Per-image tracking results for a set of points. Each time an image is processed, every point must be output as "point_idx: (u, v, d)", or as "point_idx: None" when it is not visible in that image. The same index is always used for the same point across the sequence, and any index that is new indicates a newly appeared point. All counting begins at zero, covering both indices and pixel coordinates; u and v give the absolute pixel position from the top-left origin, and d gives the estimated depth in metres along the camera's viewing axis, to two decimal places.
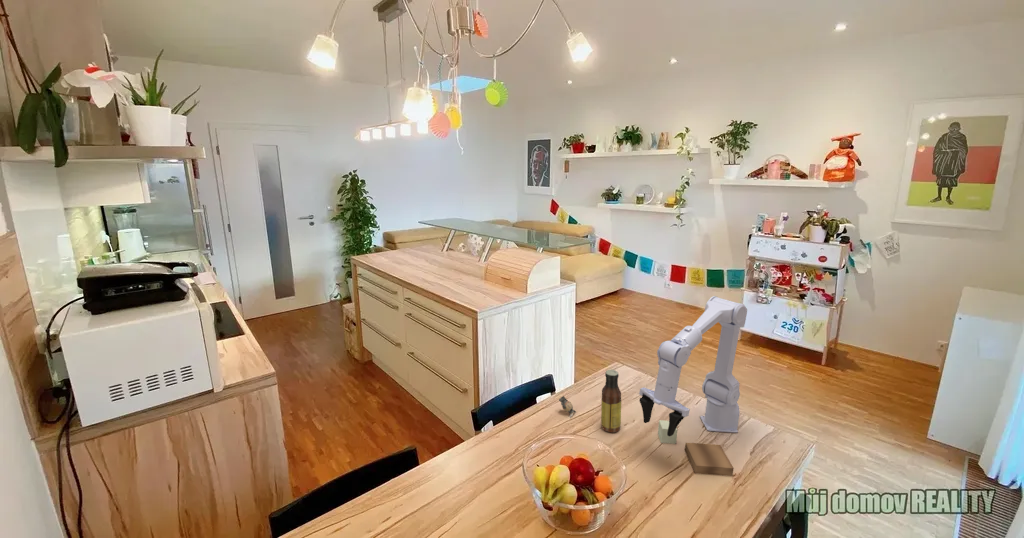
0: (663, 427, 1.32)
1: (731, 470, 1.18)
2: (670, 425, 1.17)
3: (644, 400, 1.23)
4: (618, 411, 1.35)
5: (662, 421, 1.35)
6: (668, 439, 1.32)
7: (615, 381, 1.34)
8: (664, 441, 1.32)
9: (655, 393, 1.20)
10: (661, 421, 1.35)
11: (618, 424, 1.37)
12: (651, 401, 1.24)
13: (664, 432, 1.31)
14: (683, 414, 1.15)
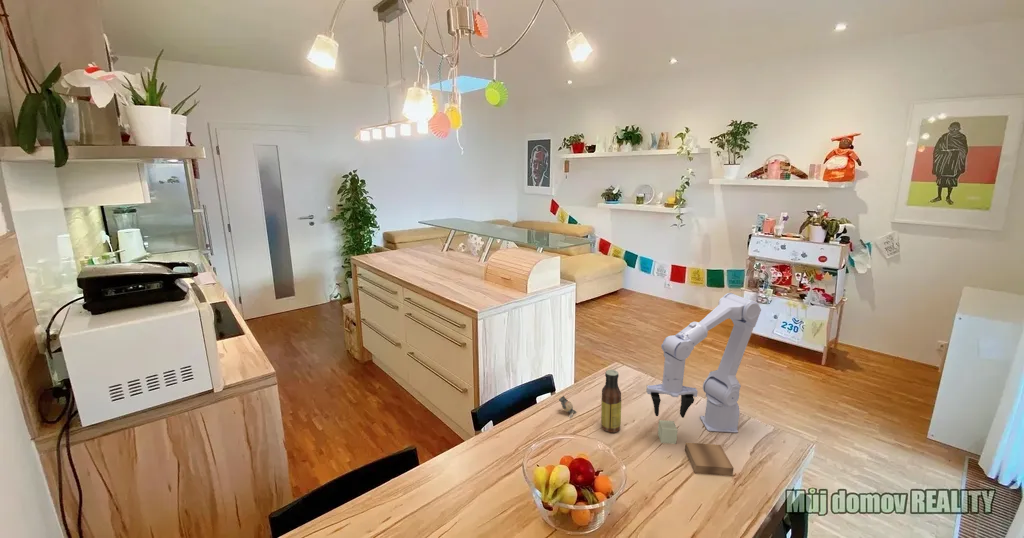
0: (663, 427, 1.32)
1: (731, 470, 1.18)
2: (685, 408, 1.29)
3: (657, 397, 1.29)
4: (618, 411, 1.35)
5: (662, 421, 1.35)
6: (668, 439, 1.32)
7: (615, 381, 1.34)
8: (664, 441, 1.32)
9: (669, 388, 1.27)
10: (661, 421, 1.35)
11: (618, 424, 1.37)
12: None
13: (664, 432, 1.31)
14: (695, 395, 1.29)
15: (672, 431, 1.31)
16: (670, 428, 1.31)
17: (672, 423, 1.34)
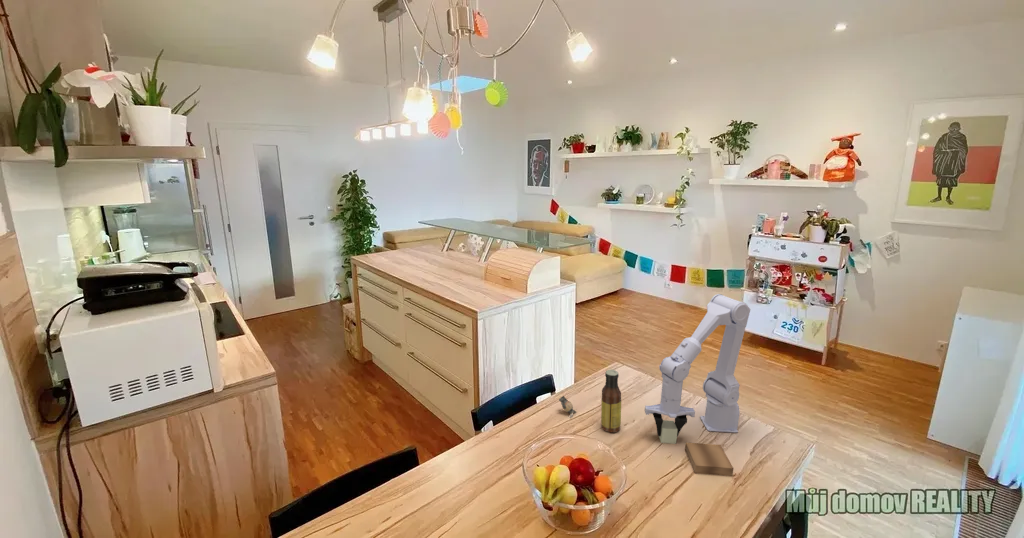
0: (663, 427, 1.32)
1: (731, 470, 1.18)
2: (679, 428, 1.31)
3: (659, 418, 1.31)
4: (618, 411, 1.35)
5: None
6: (668, 438, 1.32)
7: (615, 381, 1.34)
8: (664, 441, 1.32)
9: (667, 408, 1.29)
10: None
11: (618, 424, 1.37)
12: None
13: (664, 432, 1.31)
14: (693, 415, 1.30)
15: (672, 431, 1.31)
16: (671, 428, 1.31)
17: (672, 423, 1.34)
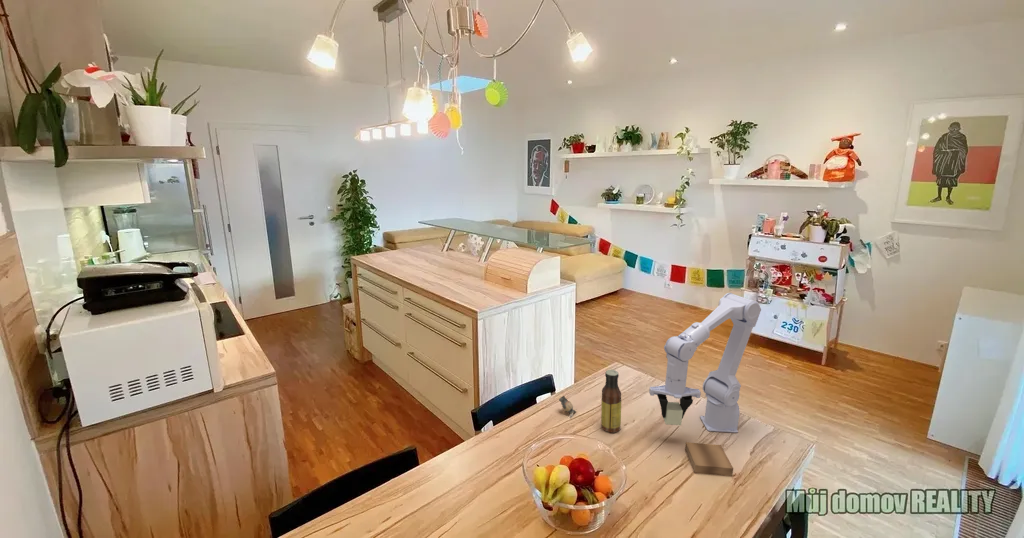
0: (668, 408, 1.29)
1: (731, 470, 1.18)
2: (684, 409, 1.29)
3: (664, 399, 1.28)
4: (618, 411, 1.35)
5: None
6: (673, 420, 1.29)
7: (615, 381, 1.34)
8: (669, 422, 1.30)
9: (672, 389, 1.27)
10: None
11: (618, 424, 1.37)
12: None
13: (669, 413, 1.29)
14: (698, 396, 1.28)
15: (677, 412, 1.28)
16: (676, 409, 1.29)
17: (677, 404, 1.31)
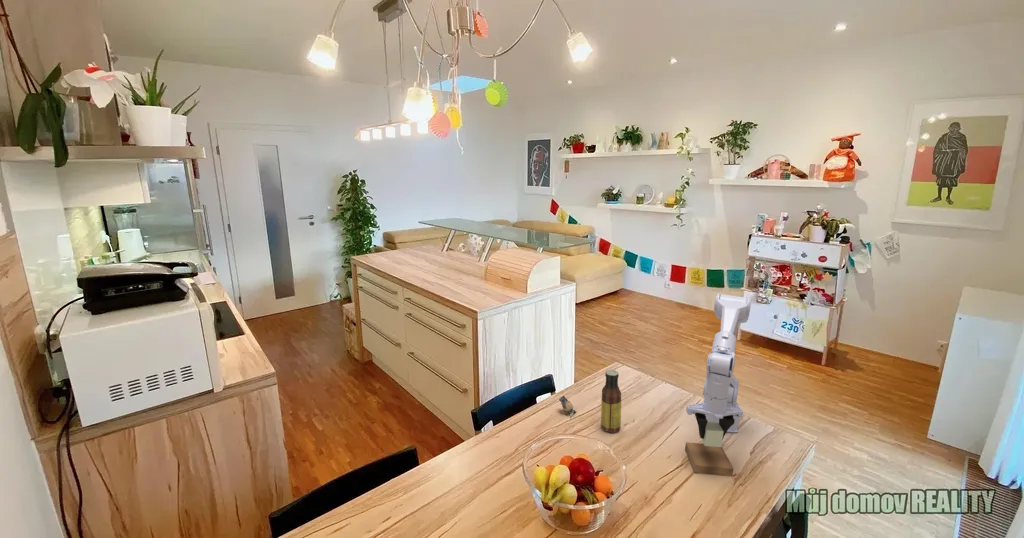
0: (707, 428, 1.20)
1: (731, 470, 1.18)
2: (725, 430, 1.19)
3: (703, 419, 1.18)
4: (618, 411, 1.35)
5: None
6: (713, 441, 1.20)
7: (615, 381, 1.34)
8: (708, 444, 1.20)
9: (712, 408, 1.17)
10: None
11: (618, 424, 1.37)
12: None
13: (708, 434, 1.19)
14: (740, 415, 1.18)
15: (717, 433, 1.19)
16: (716, 429, 1.19)
17: (716, 424, 1.22)
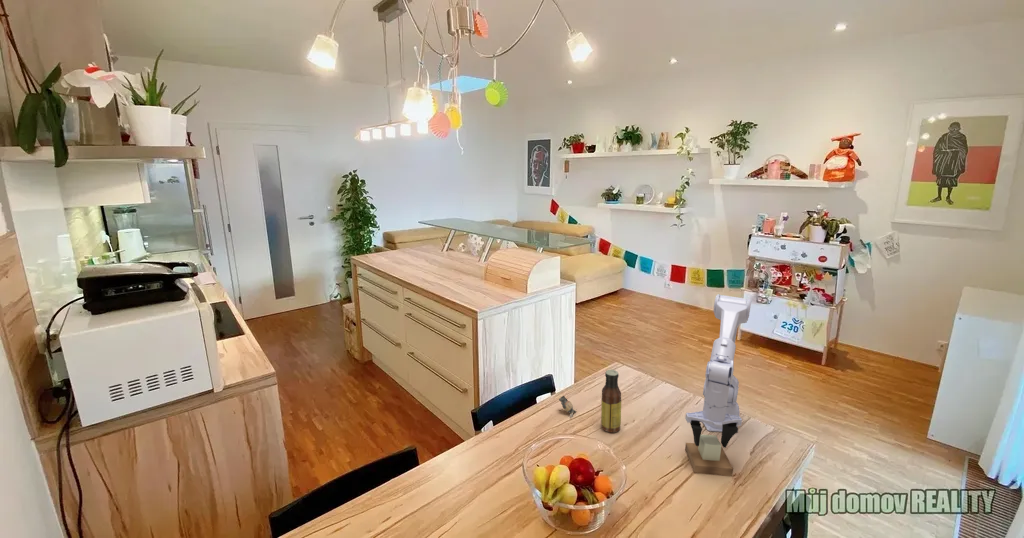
0: (705, 442, 1.21)
1: (730, 471, 1.18)
2: (728, 438, 1.19)
3: (698, 426, 1.19)
4: (618, 411, 1.35)
5: (703, 435, 1.24)
6: (711, 455, 1.21)
7: (615, 381, 1.34)
8: (706, 458, 1.21)
9: (711, 416, 1.18)
10: (702, 435, 1.24)
11: (618, 424, 1.37)
12: None
13: (706, 448, 1.20)
14: (739, 423, 1.19)
15: (715, 447, 1.20)
16: (714, 443, 1.20)
17: (715, 438, 1.23)
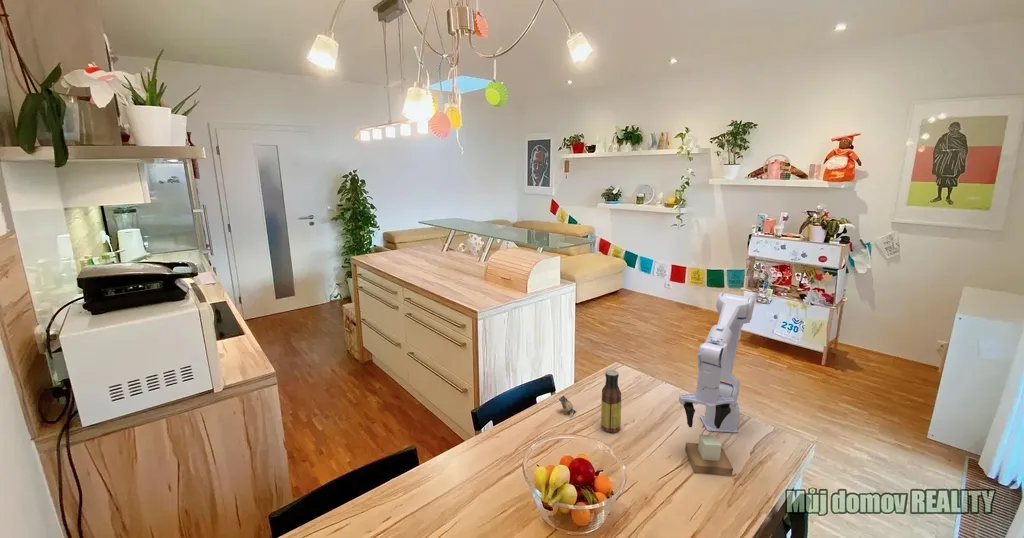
0: (705, 442, 1.21)
1: (730, 470, 1.18)
2: (721, 419, 1.22)
3: (691, 408, 1.21)
4: (618, 411, 1.35)
5: (703, 436, 1.24)
6: (711, 455, 1.21)
7: (615, 381, 1.34)
8: (706, 458, 1.21)
9: (704, 397, 1.20)
10: (702, 435, 1.24)
11: (618, 424, 1.37)
12: None
13: (706, 448, 1.20)
14: (731, 404, 1.21)
15: (715, 447, 1.20)
16: (714, 443, 1.20)
17: (714, 438, 1.23)
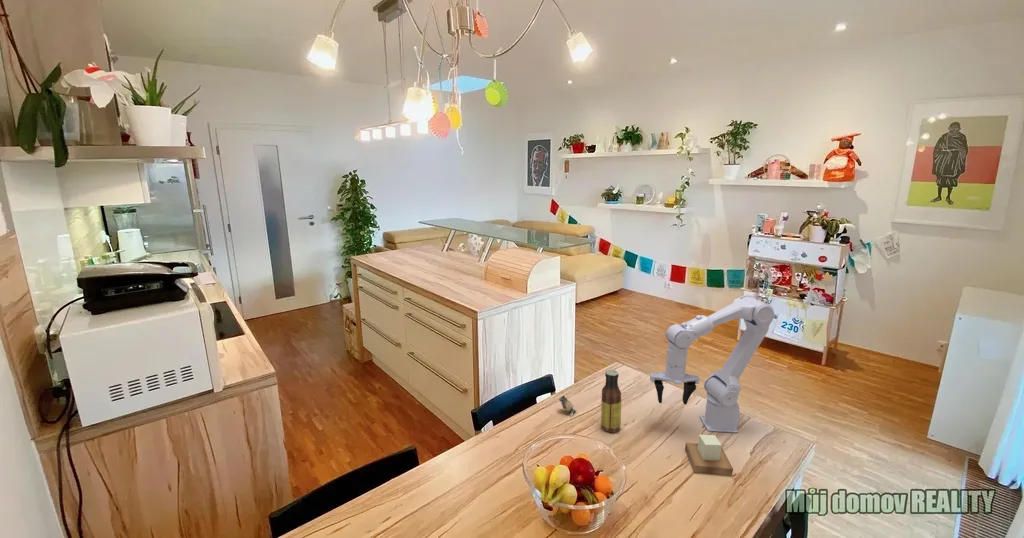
0: (705, 443, 1.21)
1: (730, 471, 1.18)
2: (688, 395, 1.34)
3: (660, 385, 1.33)
4: (618, 411, 1.35)
5: (703, 436, 1.24)
6: (711, 455, 1.21)
7: (615, 381, 1.34)
8: (707, 458, 1.21)
9: (672, 375, 1.32)
10: (702, 436, 1.24)
11: (618, 424, 1.37)
12: None
13: (707, 448, 1.20)
14: (697, 382, 1.33)
15: (715, 447, 1.20)
16: (714, 443, 1.20)
17: (714, 438, 1.23)
